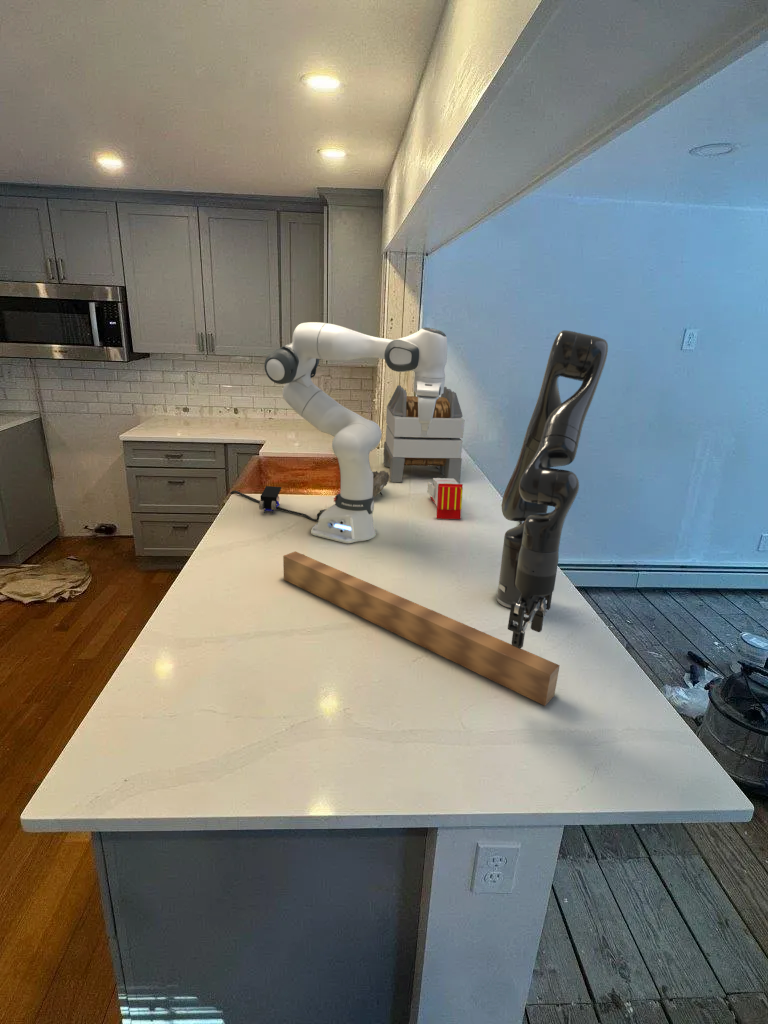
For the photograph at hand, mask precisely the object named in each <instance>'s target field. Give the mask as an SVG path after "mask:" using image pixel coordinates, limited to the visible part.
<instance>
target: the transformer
mask: <svg viewBox="0 0 768 1024" xmlns="http://www.w3.org/2000/svg"><path fill="white" fill-rule="evenodd" d="M407 394H408V393H407V390H406V389H404V388H403V387H402V385H399V384H398V385H397V386H396V388H395V390H394V392H393V394H392V395H391V398H390V400H389V402H388V404H387V405H386V413H385V414H386V415H385V423H386V428H385V438H384V442H383V466H384V467H388V468H389V474H388V475H389V481H390V482H391V483H402V482H403V475H404V469H405V466H406V467H407V466H411V467H412V466H413V467H415V466H416V467H417V466H418V467H436V468H437V470H438V469H439V473H440V474H441V475H443V478H454V479H455V480H456V481H457V482H458V483H459V484H460V483H461V472H462V461H463V460H462V453H463V442H464V441H463V440H462V439H463V438H464V431H465V430H464V429H465V419H464V418H463V411H462V408H461V405H460V402H459V398H458V395H457V392H455V391H453V390H452V389H451V388H447V386H444V392H443V394H441V395H440V396H439V399H437V400H436V404H435V408H434V413H433V418H432V422H431V424H429V429H428V433H427V437H422V436H421V423H419V420H418V397H417V396H415V395H414V396H413V395H412V396H411V395H407Z"/></svg>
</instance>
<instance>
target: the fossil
mask: <svg viewBox="0 0 768 1024" xmlns="http://www.w3.org/2000/svg"><path fill="white" fill-rule="evenodd" d="M372 472H373V496H374V498H376V496H377V495H378V494H380V495H381V496H383V493H382V491H383V489H384V488H385V487H387V485H388V482H389V481H390V478H389V475H390V474H389V472H387V471H385V470H380V471H379V472H378V471H377V470H376V471H372Z"/></svg>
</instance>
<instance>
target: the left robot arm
mask: <svg viewBox="0 0 768 1024" xmlns="http://www.w3.org/2000/svg"><path fill="white" fill-rule="evenodd" d="M367 358H368V359H369V358H374V359H380V360H384V361H385V364H386V366H387V367H388V368H389V369H390V370H391V371H393V372H397V373H407V372H412V371H413V372H414V379H413V392H414V393H415V395H416V397H418V420H419V423H421V436H422V437H427V433H428V429H429V424H431V422H432V418H433V413H434V408H435V404H436V400H437V399H439V397H440V396H441V394H443V392H444V387H445V380H446V374H445V368H446V365H447V360H448V338H447V334H446V333H445V332H443V331H442V330H440V329H436V328H431V327H422V328H420V329H419V330H418V331H416V332H414V333H412V334H409V335H407V336H403V337H399V338H396V339H394V338H393V339H392V338H386V337H378V336H372V335H369V334H365V333H362V332H359V331H357V330H354V329H351V328H348V327H345V326H342V325H338V324H334V323H328V322H319V321H317V322H316V321H309V322H301V323H300V324H297V325H296V326H295V328H294V330H293V333H292V341H291V342H290V343H288V344H284V345H283V346H280V347H279V348H276V349H274V350H273V351H272V352H271V353H269V355H267V357H265V361H264V364H263V365H264V372H265V374H266V376H267V378H268V379H269V380H270V381H271V382H273V383H275V384H278V385H283V388H282V391H281V393H282V399H284V401H285V402H286V403H287V404H288V405H289V406H290V408H291V409H292V410H294V412H295V413H296V414H298V415H299V416H300V417H301V418H303V419H304V420H305V421H307V423H309V424H310V425H312V426H313V427H314V428H315V429H317V430H318V431H319V432H321V433H323V434H328V435H330V436H332V437H333V439H332V443H331V448H332V452H333V453H334V455H335V457H336V458H337V462H338V467H339V473H340V490H339V491H338V492H337V494H336V495H335V496H334V497H333V502H334V504H333V505H331V506H329V507H328V508H325V509H321V510H319V512H317V515H316V518H315V519H314V518H312V517H311V516H310V515H308V514H306V513H303V512H299V511H294V510H291V509H287V508H283V507H280V506H278V507H276V510H278V511H282V512H285V513H290V514H294V515H298V516H302V517H305V518H306V519H308V520H310V521H312V522H317V523H315V524H314V525H313V526H312V528H311V530H310V533H311V536H315V537H319V538H323V539H326V540H330V541H336V542H339V543H343V544H352V543H357V542H365V541H368V540H372V539H373V538H375V537H376V535H377V532H376V528H375V523H374V513H373V512H374V509H375V497H374V496H373V472H374V471H372V468H371V463H370V454H371V452H372V451H374V450H375V449H377V447H378V446H379V444H380V442H381V440H382V435H383V434H382V428H381V427H380V425H379V424H378V423H377V422H375V421H374V420H371V419H368V418H366V417H363V416H362V415H361V414H358V413H357V412H355V411H354V410H351V409H349V408H347V407H346V406H343V405H342V404H340V403H339V402H338V401H336V399H334V398H333V397H331V396H330V395H329V394H328V393H326V392H325V391H323V390H322V389H321V388H320V387H318V386H317V384H314V382H313V380H312V378H314V377H316V373H317V368H318V366H319V364H320V360H322V361H326V362H347V361H353V360H359V359H367ZM229 494H230V495H233V494H236V495H238V496H241V497H244V498H247V499H249V500H250V501H254V502H255V503H258V504H259V503H260V500H259V499H256V498H254V497H252V496H250V495H247V494H245V493H242V492H240V491H238V490H232V491H230V493H229Z"/></svg>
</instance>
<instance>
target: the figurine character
mask: <svg viewBox="0 0 768 1024" xmlns="http://www.w3.org/2000/svg"><path fill="white" fill-rule="evenodd" d="M281 490H282V486H272V485H266V486H265V488H264V489H263V490H262V493H261V494H260V500H259V501H260V503H258V509H259V511H263V512H262V513H263V514H264V515H266V513H267V512H270V515H273V514H274V513H275V511H276V510H277V509H276V507H280V503H279V502H280V496H279V495H280V492H281Z"/></svg>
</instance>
